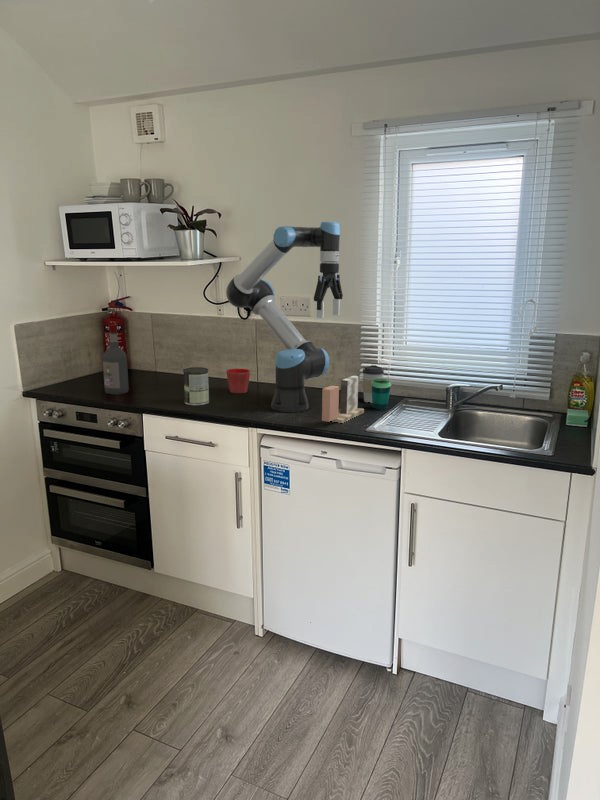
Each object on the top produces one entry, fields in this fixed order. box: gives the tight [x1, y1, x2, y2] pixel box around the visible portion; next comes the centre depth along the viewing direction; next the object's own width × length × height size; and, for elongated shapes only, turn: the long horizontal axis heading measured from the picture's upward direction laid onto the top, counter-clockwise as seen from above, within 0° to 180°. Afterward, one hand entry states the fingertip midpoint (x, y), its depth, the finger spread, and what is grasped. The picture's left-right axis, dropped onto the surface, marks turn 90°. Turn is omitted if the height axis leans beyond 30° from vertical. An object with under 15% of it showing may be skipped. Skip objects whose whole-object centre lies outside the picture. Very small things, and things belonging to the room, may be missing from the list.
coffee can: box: [182, 366, 210, 406], centre depth 257 cm, size 10×10×14 cm
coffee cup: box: [362, 364, 385, 404], centre depth 262 cm, size 9×9×15 cm
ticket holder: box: [331, 375, 365, 424], centre depth 238 cm, size 19×8×14 cm, turn 149°
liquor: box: [102, 324, 130, 396], centre depth 271 cm, size 9×9×30 cm
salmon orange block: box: [321, 385, 340, 423], centre depth 228 cm, size 7×3×12 cm, turn 150°
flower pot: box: [226, 368, 251, 394], centre depth 277 cm, size 11×11×10 cm
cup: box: [371, 377, 392, 410], centre depth 251 cm, size 8×8×12 cm
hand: (328, 316), depth 247 cm, fingers open, 13 cm apart
